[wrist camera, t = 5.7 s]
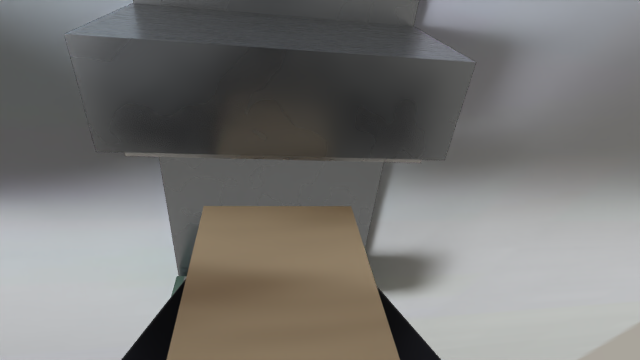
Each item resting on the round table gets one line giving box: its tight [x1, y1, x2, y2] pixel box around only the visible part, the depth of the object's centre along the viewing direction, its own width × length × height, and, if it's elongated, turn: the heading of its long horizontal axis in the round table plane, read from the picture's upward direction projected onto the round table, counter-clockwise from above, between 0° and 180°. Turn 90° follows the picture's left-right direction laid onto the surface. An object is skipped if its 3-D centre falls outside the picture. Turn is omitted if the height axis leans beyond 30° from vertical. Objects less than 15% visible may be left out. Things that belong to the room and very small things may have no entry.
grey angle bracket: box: [64, 0, 476, 276], centre depth 15 cm, size 22×10×6 cm, turn 174°
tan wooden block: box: [167, 206, 400, 360], centre depth 9 cm, size 4×4×5 cm
